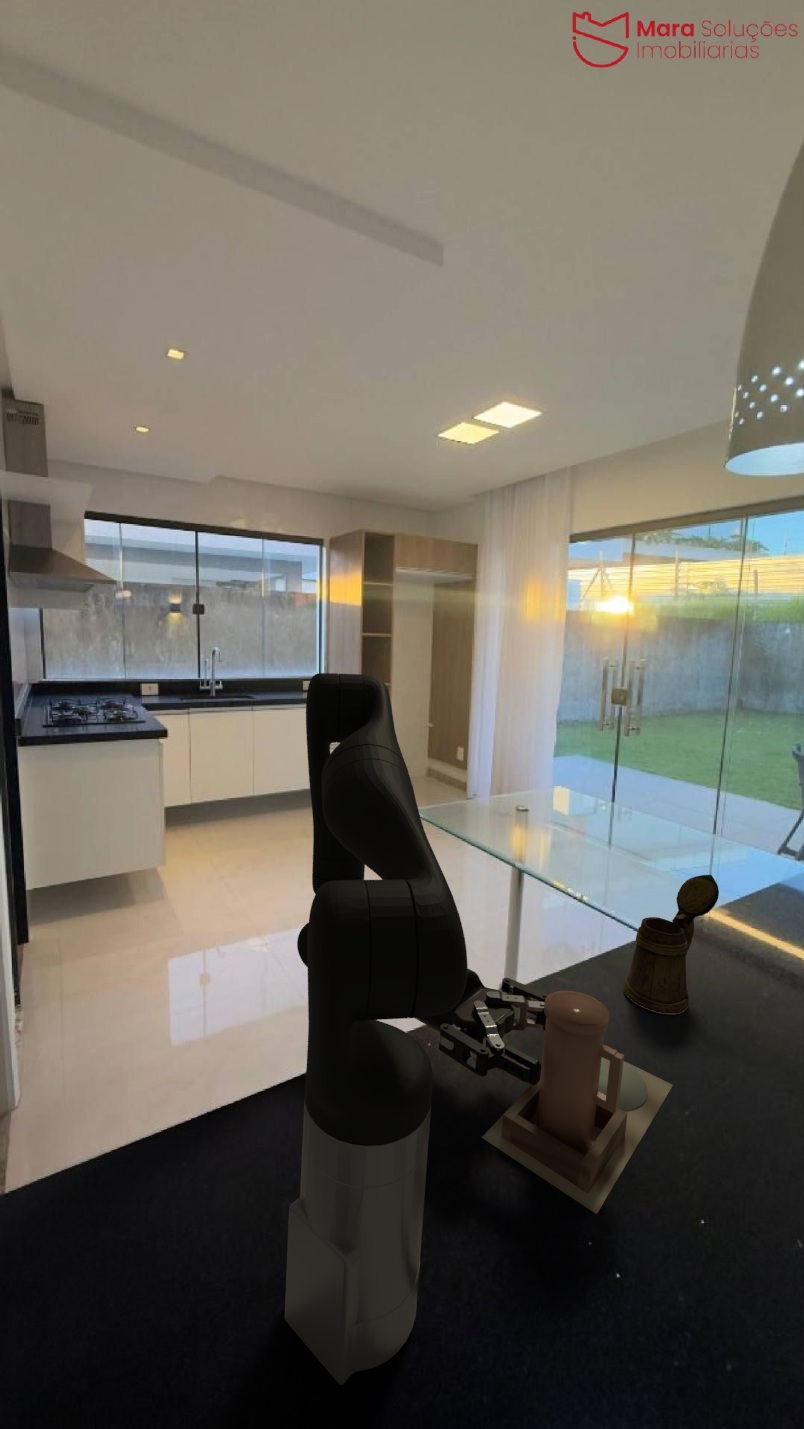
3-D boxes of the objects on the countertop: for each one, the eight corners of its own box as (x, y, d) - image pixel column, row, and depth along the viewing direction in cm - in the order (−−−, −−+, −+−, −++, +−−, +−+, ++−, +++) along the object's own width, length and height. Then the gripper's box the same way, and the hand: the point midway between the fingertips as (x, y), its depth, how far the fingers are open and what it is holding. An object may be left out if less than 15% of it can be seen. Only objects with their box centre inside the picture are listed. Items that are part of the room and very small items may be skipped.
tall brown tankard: (597, 1185, 57) (613, 1046, 55) (521, 1136, 62) (533, 1008, 60) (622, 1145, 62) (637, 1016, 60) (549, 1103, 67) (561, 983, 65)
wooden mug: (724, 1002, 90) (739, 886, 88) (656, 1021, 84) (671, 897, 82) (674, 971, 98) (687, 864, 96) (610, 987, 92) (622, 873, 90)
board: (595, 1223, 54) (599, 1188, 54) (481, 1146, 62) (483, 1114, 61) (672, 1092, 71) (675, 1065, 70) (574, 1044, 78) (577, 1019, 78)
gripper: (395, 982, 67) (528, 1053, 56) (468, 938, 77) (591, 991, 67) (391, 1046, 67) (521, 1127, 57) (464, 994, 78) (584, 1054, 68)
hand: (559, 1053), depth 62 cm, fingers open, 8 cm apart
